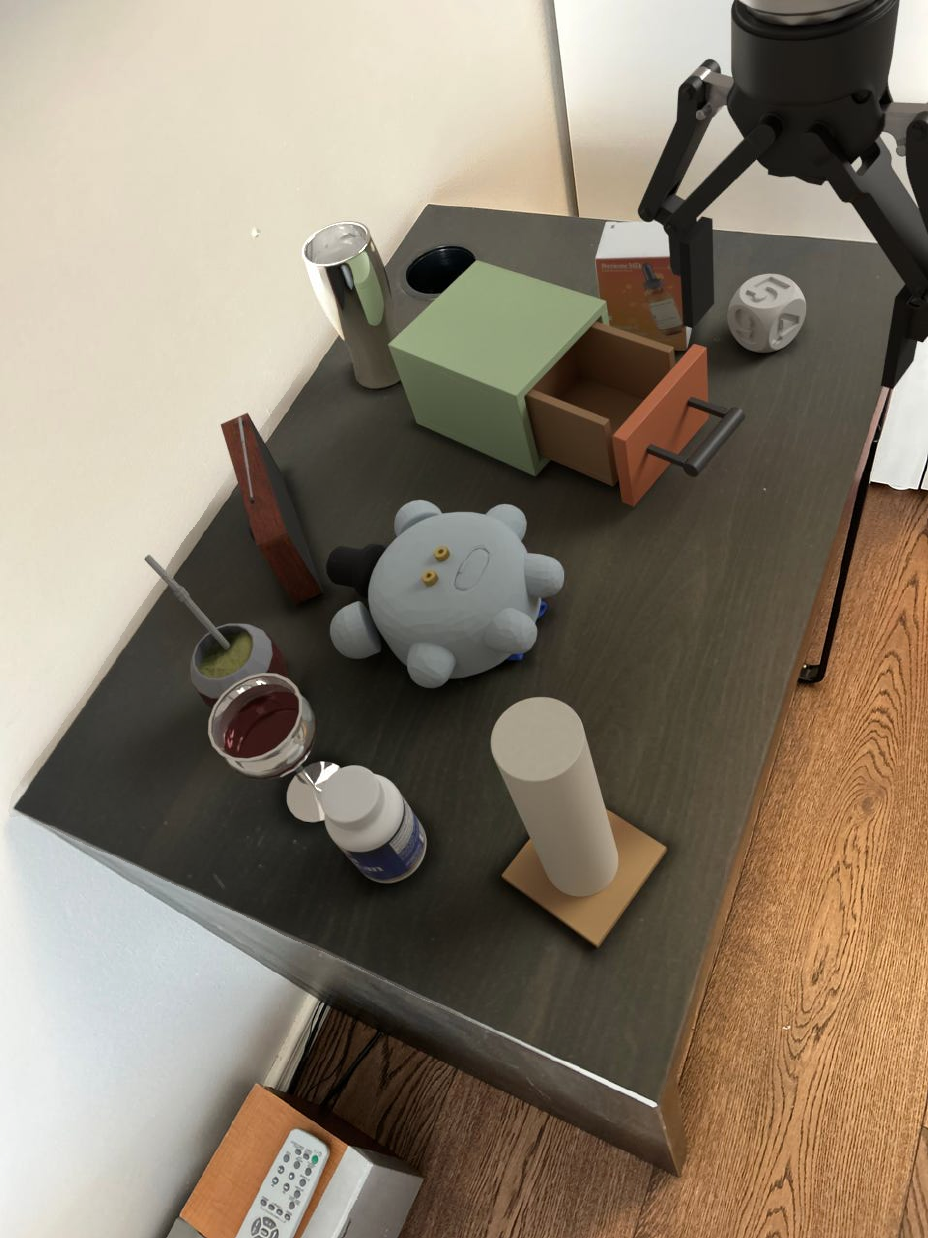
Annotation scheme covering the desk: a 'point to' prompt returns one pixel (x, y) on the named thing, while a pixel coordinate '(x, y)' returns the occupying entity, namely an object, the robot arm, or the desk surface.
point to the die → (766, 313)
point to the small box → (641, 283)
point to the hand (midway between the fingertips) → (792, 342)
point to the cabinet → (489, 357)
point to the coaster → (599, 909)
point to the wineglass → (271, 738)
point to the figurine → (445, 592)
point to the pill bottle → (372, 824)
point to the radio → (270, 510)
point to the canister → (556, 793)
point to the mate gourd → (225, 650)
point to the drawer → (626, 410)
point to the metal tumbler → (355, 297)
